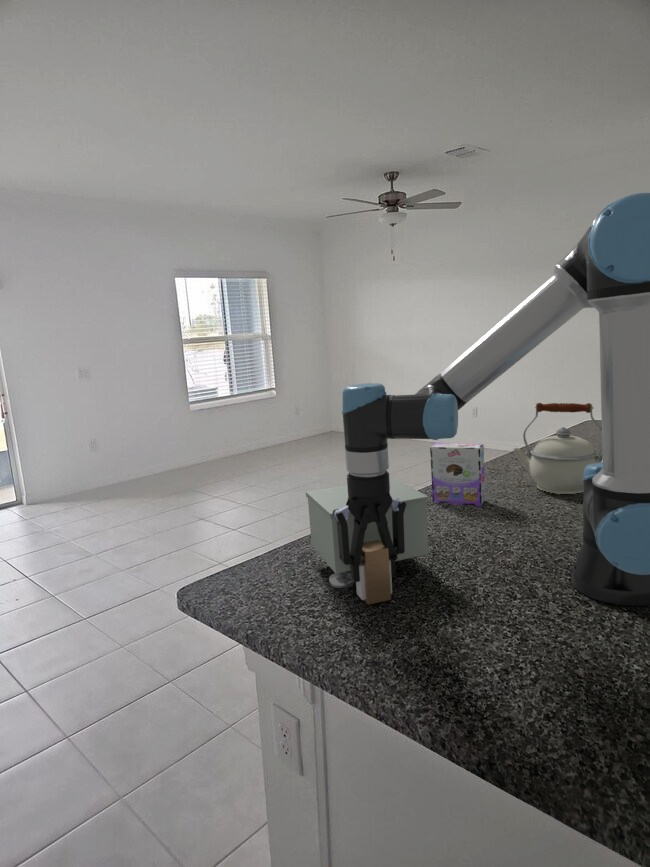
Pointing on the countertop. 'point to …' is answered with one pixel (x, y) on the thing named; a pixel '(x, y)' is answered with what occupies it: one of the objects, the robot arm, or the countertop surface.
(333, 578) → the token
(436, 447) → the candy box
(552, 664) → the countertop surface
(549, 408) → the kettle
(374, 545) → the block
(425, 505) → the cabinet
